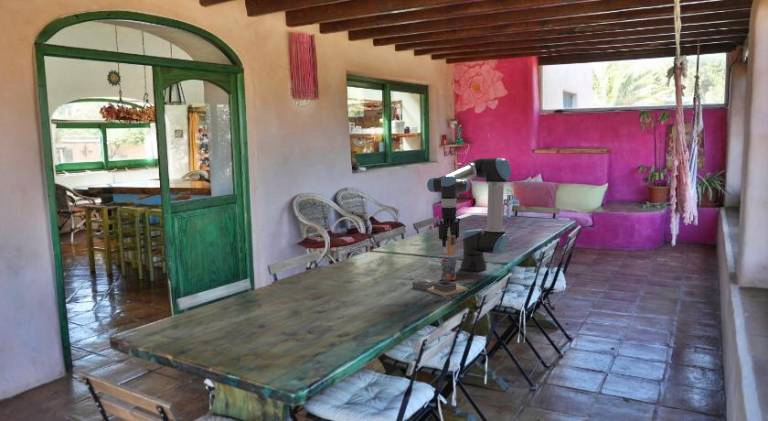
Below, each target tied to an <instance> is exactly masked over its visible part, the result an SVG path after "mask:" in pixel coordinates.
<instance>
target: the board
mask: <svg viewBox="0 0 768 421" xmlns="http://www.w3.org/2000/svg"><path fill="white" fill-rule="evenodd" d="M466 291H469V288H468V287H465V286H462V285H459V284H457V283H455V282H452V281H445V280H440V281H439V282H436V283H434V286H432V287H430V288H427V292H431V293H433V294H437V295H440V296H442V297H447V296H450V295H454V294H458V293H462V292H466Z"/></svg>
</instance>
